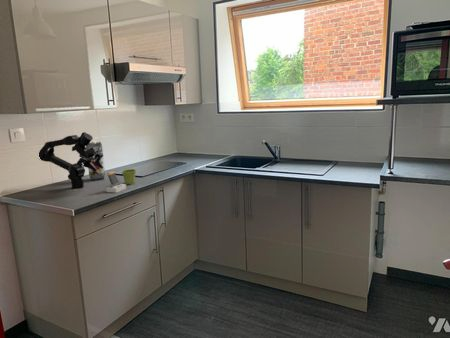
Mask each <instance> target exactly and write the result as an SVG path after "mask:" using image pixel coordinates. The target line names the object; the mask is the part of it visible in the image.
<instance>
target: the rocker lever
mask: <svg viewBox="0 0 450 338" xmlns="http://www.w3.org/2000/svg"><path fill="white" fill-rule="evenodd" d="M106 176H108V177H107V178H108V179H109V182H110V185H111V184H112V185H113V186H115V185H118V184H119V183H118V182H119V180H118V178H117V175H116V171H115V170H114V171H110V172H108V173H106Z"/></svg>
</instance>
